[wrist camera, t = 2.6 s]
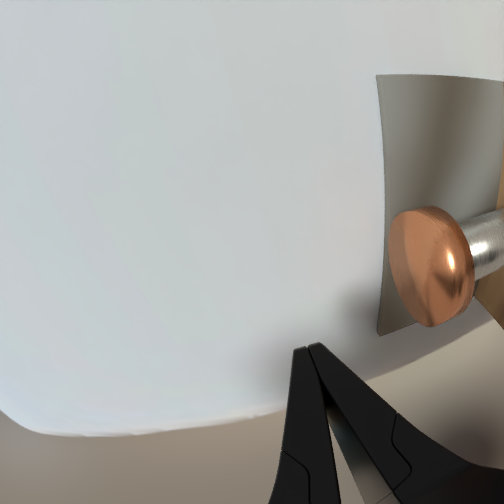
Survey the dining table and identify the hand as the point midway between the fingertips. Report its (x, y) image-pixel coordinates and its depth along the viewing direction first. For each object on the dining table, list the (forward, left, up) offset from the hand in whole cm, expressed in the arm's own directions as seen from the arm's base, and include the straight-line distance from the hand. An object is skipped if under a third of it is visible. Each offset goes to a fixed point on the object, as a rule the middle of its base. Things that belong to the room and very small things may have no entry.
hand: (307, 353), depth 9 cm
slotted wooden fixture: (-10, -10, -5) cm, 15 cm away
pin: (-7, -7, -4) cm, 11 cm away
